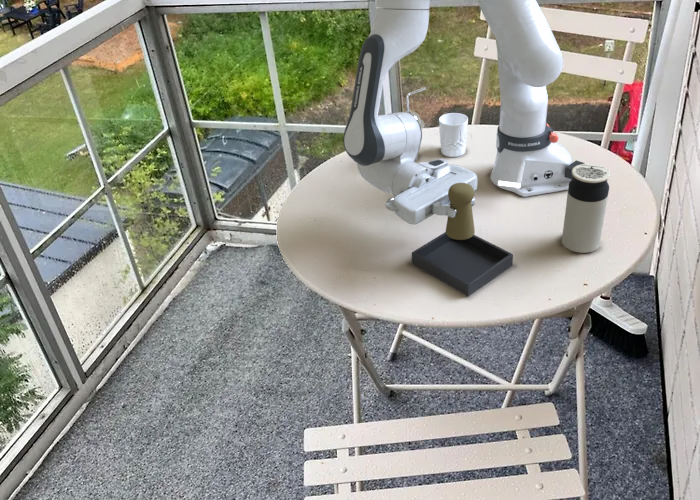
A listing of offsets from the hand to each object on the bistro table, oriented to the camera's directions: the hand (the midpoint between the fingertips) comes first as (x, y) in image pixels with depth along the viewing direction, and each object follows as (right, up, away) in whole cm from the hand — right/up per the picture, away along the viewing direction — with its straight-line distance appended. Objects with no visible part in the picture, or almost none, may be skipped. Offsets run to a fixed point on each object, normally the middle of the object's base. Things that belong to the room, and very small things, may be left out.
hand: (464, 208), depth 133 cm
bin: (+1, -12, +9) cm, 15 cm away
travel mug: (+28, -7, +12) cm, 31 cm away
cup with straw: (-6, +17, +51) cm, 54 cm away
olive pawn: (0, -5, +4) cm, 6 cm away
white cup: (+6, +19, +51) cm, 55 cm away
